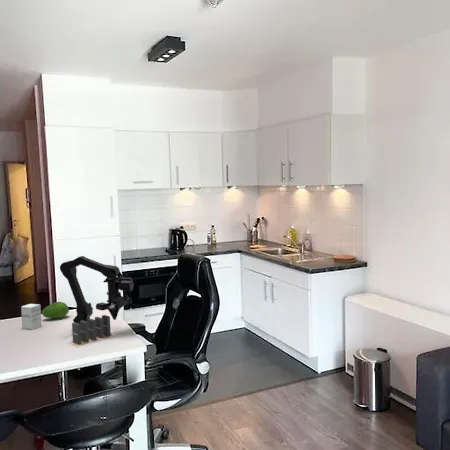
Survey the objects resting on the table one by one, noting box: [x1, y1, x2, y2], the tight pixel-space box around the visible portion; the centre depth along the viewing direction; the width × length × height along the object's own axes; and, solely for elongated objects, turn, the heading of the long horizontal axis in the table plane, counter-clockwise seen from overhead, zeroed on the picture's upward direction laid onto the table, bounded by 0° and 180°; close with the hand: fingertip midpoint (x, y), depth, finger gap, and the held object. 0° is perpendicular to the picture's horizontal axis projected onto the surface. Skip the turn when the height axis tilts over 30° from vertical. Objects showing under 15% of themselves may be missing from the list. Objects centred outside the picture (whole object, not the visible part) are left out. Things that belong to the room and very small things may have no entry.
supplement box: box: [20, 303, 42, 330], centre depth 259 cm, size 7×7×13 cm
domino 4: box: [94, 316, 104, 338], centre depth 237 cm, size 2×5×10 cm, turn 47°
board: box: [68, 333, 117, 348], centre depth 235 cm, size 22×9×1 cm, turn 137°
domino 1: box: [71, 321, 81, 345], centre depth 228 cm, size 2×5×10 cm, turn 48°
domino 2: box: [80, 320, 89, 343], centre depth 231 cm, size 2×5×10 cm, turn 47°
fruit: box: [41, 301, 70, 320], centre depth 276 cm, size 15×10×10 cm, turn 120°
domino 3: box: [87, 318, 96, 340], centre depth 234 cm, size 2×5×10 cm, turn 47°
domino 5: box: [101, 314, 112, 336], centre depth 240 cm, size 2×5×10 cm, turn 47°
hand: (114, 319), depth 244 cm, fingers closed
